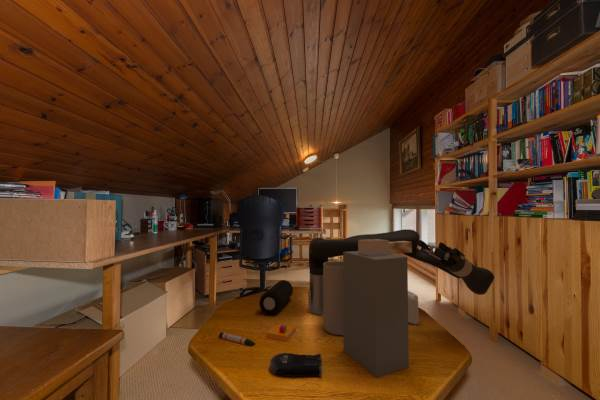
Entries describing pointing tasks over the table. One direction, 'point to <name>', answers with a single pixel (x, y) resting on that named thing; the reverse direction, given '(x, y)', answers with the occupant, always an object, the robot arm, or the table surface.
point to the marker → (236, 339)
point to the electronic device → (296, 365)
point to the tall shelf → (376, 311)
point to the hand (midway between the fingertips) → (429, 243)
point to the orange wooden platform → (281, 332)
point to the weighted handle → (383, 247)
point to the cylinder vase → (333, 297)
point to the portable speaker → (276, 297)
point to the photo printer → (413, 308)
